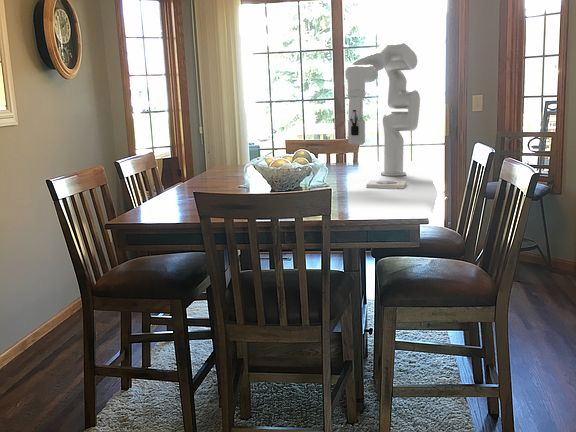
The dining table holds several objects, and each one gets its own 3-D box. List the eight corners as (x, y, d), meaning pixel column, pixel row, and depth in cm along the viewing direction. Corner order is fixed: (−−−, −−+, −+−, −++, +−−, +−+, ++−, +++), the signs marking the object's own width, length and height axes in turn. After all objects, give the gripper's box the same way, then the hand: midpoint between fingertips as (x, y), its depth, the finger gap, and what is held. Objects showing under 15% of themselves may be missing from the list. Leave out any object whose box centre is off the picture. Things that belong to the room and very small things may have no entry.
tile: (371, 183, 280) (371, 180, 280) (406, 184, 276) (406, 181, 275) (366, 187, 268) (366, 184, 268) (403, 188, 263) (403, 184, 263)
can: (365, 144, 270) (365, 117, 267) (348, 145, 270) (348, 117, 268) (364, 143, 277) (364, 116, 275) (347, 143, 277) (347, 117, 275)
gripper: (351, 94, 278) (351, 133, 282) (344, 94, 262) (344, 136, 266) (368, 93, 276) (368, 133, 280) (361, 94, 260) (361, 136, 264)
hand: (356, 134), depth 273 cm, fingers closed on can, 7 cm apart
